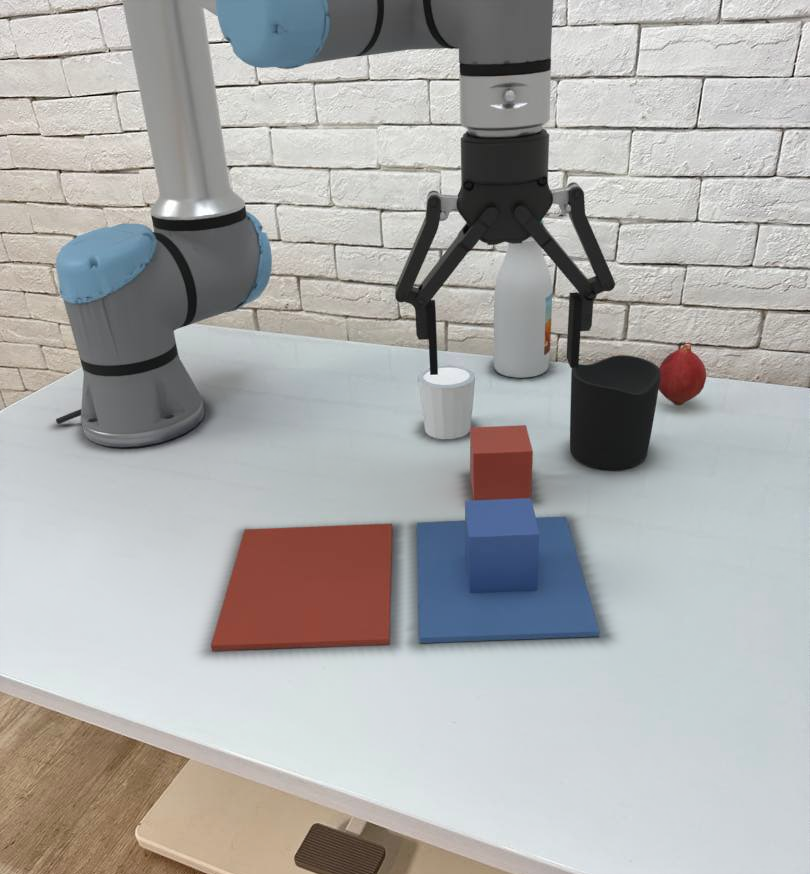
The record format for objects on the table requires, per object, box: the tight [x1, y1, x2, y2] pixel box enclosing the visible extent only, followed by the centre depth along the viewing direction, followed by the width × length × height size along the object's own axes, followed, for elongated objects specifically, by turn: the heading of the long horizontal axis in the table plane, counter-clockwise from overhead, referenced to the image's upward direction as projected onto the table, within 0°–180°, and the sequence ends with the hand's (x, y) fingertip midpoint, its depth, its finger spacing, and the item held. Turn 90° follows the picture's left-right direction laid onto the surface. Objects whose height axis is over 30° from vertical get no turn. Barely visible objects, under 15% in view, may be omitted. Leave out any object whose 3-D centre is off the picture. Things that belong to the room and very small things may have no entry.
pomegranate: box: [658, 343, 707, 406], centre depth 105 cm, size 6×6×8 cm
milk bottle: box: [493, 219, 553, 379], centre depth 114 cm, size 8×8×20 cm
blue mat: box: [416, 515, 600, 644], centre depth 78 cm, size 15×18×1 cm
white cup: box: [417, 364, 476, 440], centre depth 103 cm, size 7×7×7 cm
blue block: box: [464, 497, 540, 593], centre depth 77 cm, size 6×6×6 cm
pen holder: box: [569, 354, 661, 471], centre depth 95 cm, size 9×9×10 cm
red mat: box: [210, 522, 393, 651], centre depth 79 cm, size 15×18×1 cm
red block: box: [469, 424, 534, 501], centre depth 90 cm, size 6×6×6 cm
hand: (502, 366), depth 84 cm, fingers open, 13 cm apart
